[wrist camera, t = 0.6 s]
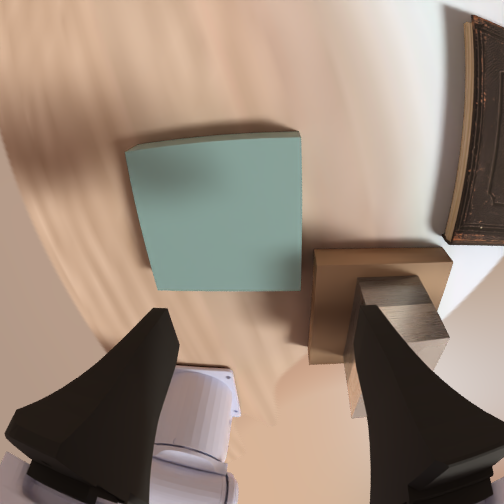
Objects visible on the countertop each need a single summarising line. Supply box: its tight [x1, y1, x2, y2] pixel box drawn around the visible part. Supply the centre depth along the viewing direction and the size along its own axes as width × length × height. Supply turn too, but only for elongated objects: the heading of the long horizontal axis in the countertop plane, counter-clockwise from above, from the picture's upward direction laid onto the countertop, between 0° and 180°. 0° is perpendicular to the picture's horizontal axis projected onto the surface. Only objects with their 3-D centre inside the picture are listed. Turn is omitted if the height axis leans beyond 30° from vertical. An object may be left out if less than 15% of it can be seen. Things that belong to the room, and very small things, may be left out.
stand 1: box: [125, 131, 302, 291], centre depth 19 cm, size 10×10×2 cm
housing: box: [343, 275, 450, 418], centre depth 19 cm, size 8×4×6 cm, turn 4°
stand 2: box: [308, 247, 453, 365], centre depth 22 cm, size 10×10×2 cm
